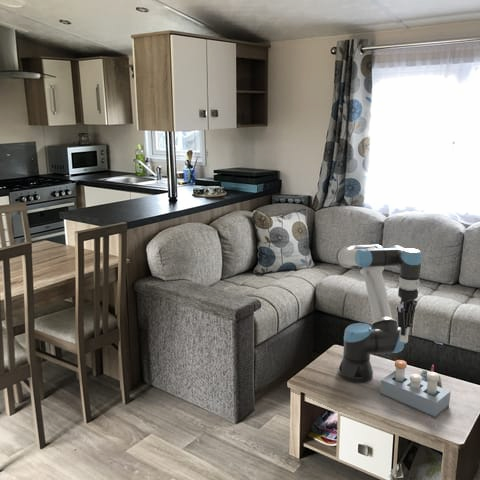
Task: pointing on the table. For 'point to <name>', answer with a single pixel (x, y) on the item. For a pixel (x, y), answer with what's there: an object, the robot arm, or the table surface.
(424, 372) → the brake caliper
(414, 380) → the cream plunger
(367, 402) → the table surface
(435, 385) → the cream plunger
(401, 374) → the peach ball knob
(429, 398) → the blue peg holder block
